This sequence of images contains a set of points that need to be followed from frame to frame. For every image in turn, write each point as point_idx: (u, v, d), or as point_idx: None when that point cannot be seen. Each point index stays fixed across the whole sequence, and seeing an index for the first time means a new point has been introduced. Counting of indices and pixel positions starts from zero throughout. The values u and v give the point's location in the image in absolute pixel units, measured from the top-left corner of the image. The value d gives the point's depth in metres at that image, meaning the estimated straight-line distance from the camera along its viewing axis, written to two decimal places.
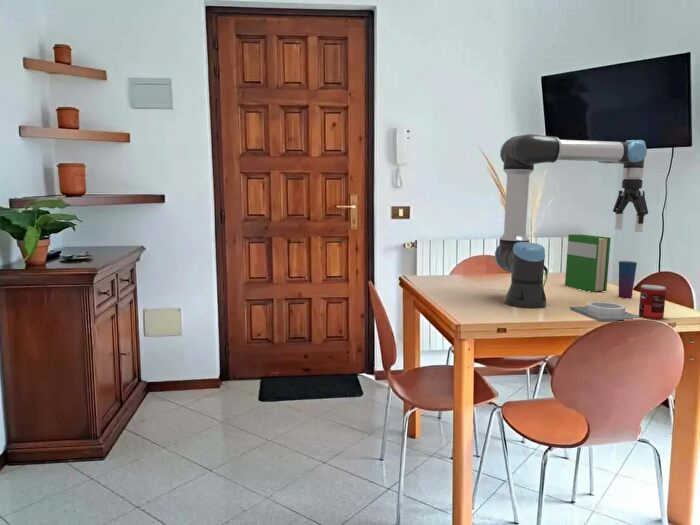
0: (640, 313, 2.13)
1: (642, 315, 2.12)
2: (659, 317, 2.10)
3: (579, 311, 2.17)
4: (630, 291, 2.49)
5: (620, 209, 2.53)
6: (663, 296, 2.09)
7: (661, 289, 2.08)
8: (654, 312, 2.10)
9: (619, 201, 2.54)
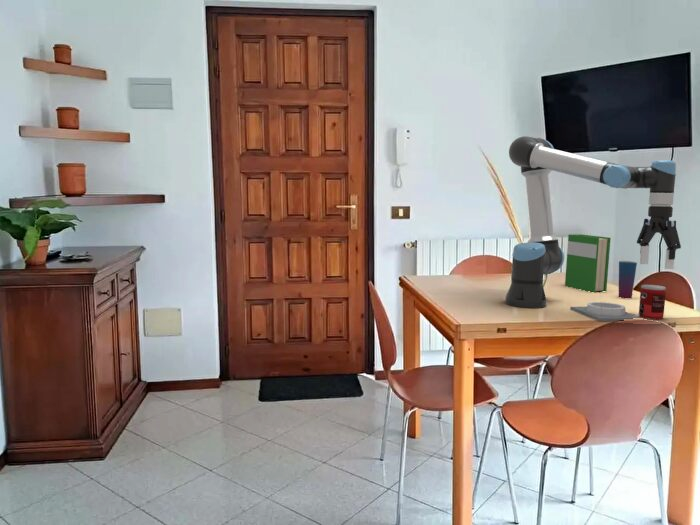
0: (640, 313, 2.13)
1: (642, 315, 2.12)
2: (659, 317, 2.10)
3: (579, 311, 2.17)
4: (630, 291, 2.49)
5: (646, 240, 2.16)
6: (663, 296, 2.09)
7: (661, 289, 2.08)
8: (654, 312, 2.10)
9: (644, 231, 2.16)
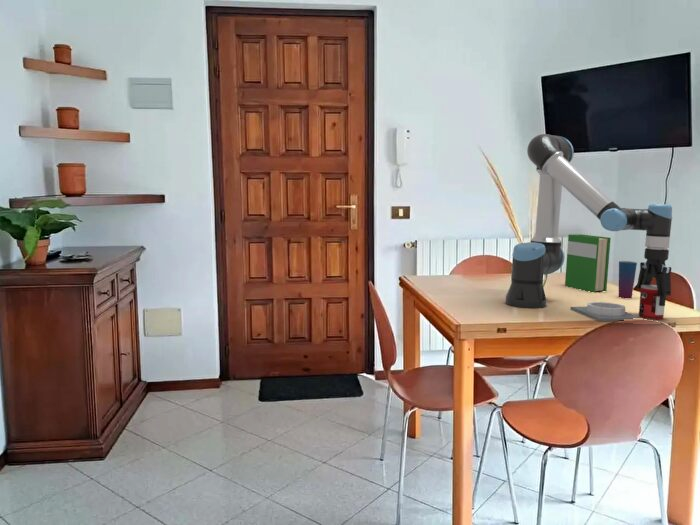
0: (640, 313, 2.13)
1: (642, 315, 2.12)
2: (659, 317, 2.10)
3: (579, 311, 2.17)
4: (630, 291, 2.49)
5: None
6: None
7: None
8: (654, 312, 2.10)
9: (642, 275, 2.17)
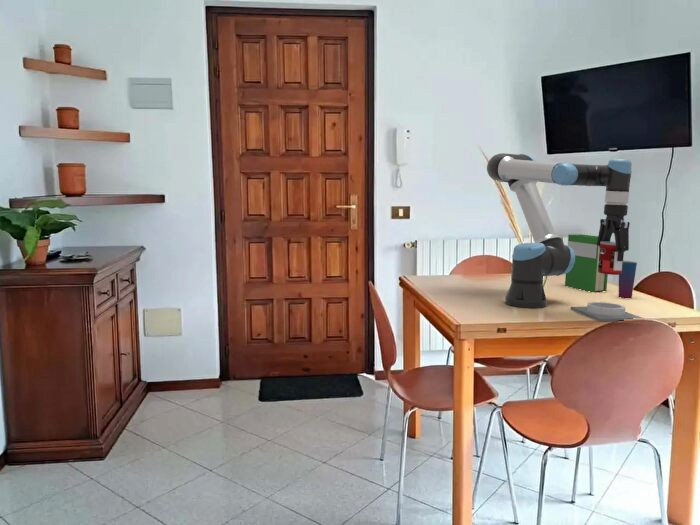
0: (599, 269, 2.14)
1: (601, 271, 2.13)
2: (617, 273, 2.10)
3: (579, 311, 2.17)
4: (630, 291, 2.49)
5: None
6: None
7: None
8: (612, 268, 2.10)
9: (602, 232, 2.17)
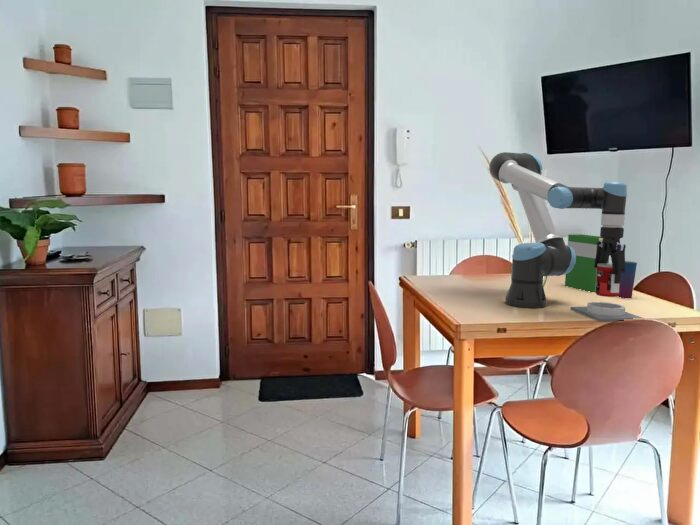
0: (596, 291, 2.14)
1: (598, 293, 2.13)
2: (615, 295, 2.10)
3: (579, 311, 2.17)
4: (630, 291, 2.49)
5: None
6: None
7: None
8: (609, 290, 2.10)
9: (599, 254, 2.18)
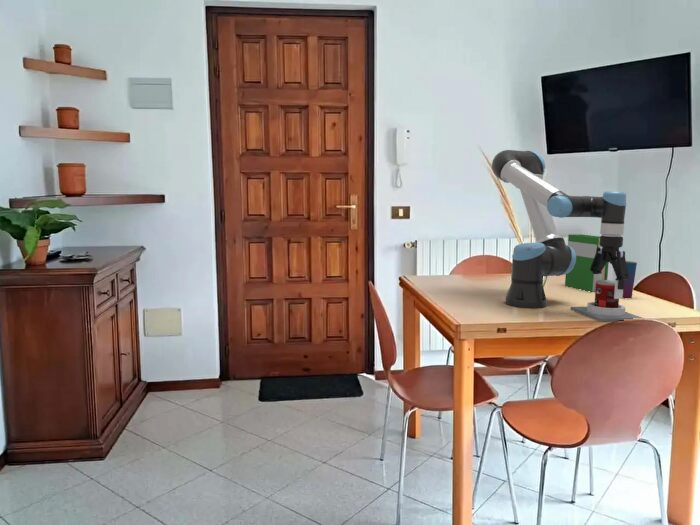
0: None
1: None
2: None
3: (579, 311, 2.17)
4: (630, 291, 2.49)
5: (598, 269, 2.19)
6: None
7: None
8: None
9: (597, 259, 2.19)
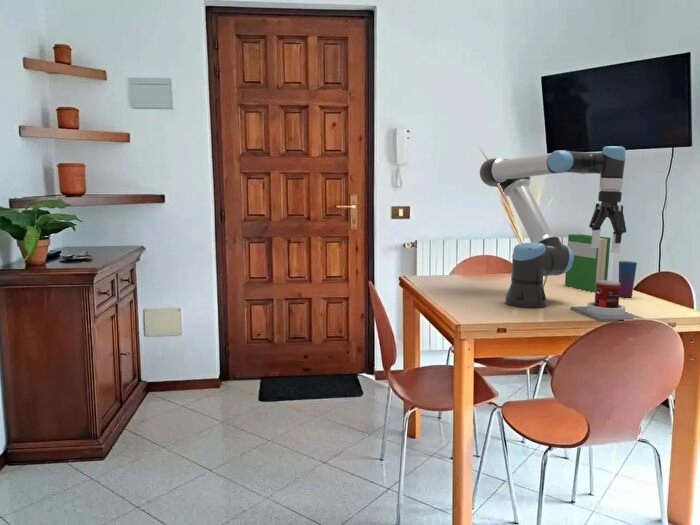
0: None
1: None
2: None
3: (579, 311, 2.17)
4: (630, 291, 2.49)
5: (597, 225, 2.21)
6: (618, 291, 2.11)
7: (615, 284, 2.10)
8: None
9: (596, 215, 2.21)
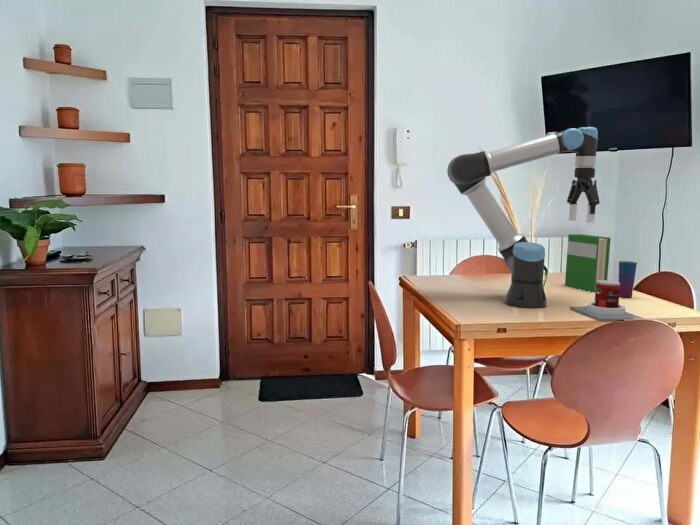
0: None
1: None
2: None
3: (579, 311, 2.17)
4: (630, 291, 2.49)
5: (573, 199, 2.44)
6: (617, 291, 2.10)
7: (615, 284, 2.10)
8: None
9: (573, 191, 2.44)
